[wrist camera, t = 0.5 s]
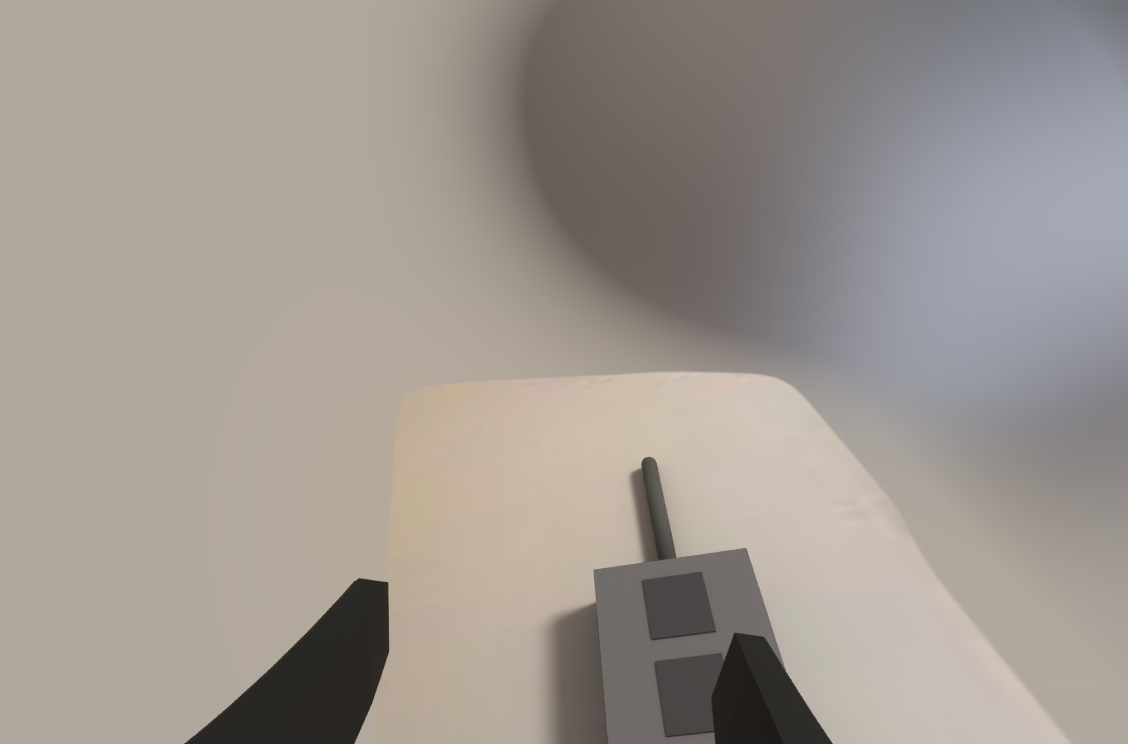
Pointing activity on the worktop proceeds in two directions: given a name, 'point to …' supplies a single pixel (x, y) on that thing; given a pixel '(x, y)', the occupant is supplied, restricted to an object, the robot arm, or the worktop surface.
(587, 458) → the worktop surface
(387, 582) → the robot arm
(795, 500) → the worktop surface
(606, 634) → the power strip
